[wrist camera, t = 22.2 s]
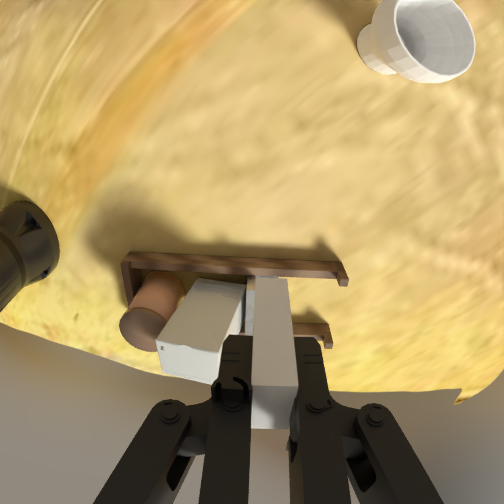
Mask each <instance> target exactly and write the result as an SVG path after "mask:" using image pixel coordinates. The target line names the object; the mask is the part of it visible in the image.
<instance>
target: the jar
mask: <svg viewBox="0 0 504 504" xmlns="http://www.w3.org/2000/svg"><path fill="white" fill-rule="evenodd" d="M183 295H184V289H183V286H182V283H181V282H180V281H179V279H178V278H177V277H175V276H174V275H173V274H171V273H168V272H165V271H155V272H152V273H150V274H149V275H147V277H146V278H145V280H144V281H143V283H142V285H141V287H140V288H139V290H138V292H137V294H136V295H135V297H134V299H133V301H132V303H131V304H130V306H129V308H128V310H127V311H126V312H125V313H124V314H123V316H122V318H121V320H120V323H119V328H120V332H121V334H122V336H123V337H124V338H125V340H126V341H127V342H128V343H129V344H131V345H132V346H134V347H135V348H138V349H140V350H143V351H147V352H156V351H158V350H157V345H156V341H155V339H156V338H157V337H158V335H159V334H160V333H161V331H162V330H163V328H164V327H165V325H166V324H167V322H168V321H169V319H170V318H171V316H172V315H173V313H174V312H175V311H176V309H177V308H178V306H179V305H180V303H181V301H182V298H183Z"/></svg>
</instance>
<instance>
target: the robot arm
mask: <svg viewBox="0 0 504 504" xmlns="http://www.w3.org/2000/svg"><path fill="white" fill-rule="evenodd" d="M59 253H60V250H59V242H58V238H57V234H56V232H55V229H54V227H53V225H52V223H51V222H50V220H49V219H48V217H47V216H46V215H45V214H44V212H43V211H42V210H41V209H39V208H38V207H37V206H35V205H34V204H32V203H30V202H27V201H16V202H13V203H12V204H10V205H8V206H7V207H5V208H4V209H3V210H2V211H1V212H0V312H1V311H2V310H3V309H4V308H5V307H6V305H7V304H8V303H9V302H10V301H11V300H12V299H13V298H14V297H15V296H16V294H17V293H18V292H19V291H20V290H21V289H22V288H23V287H25V286H28V285H30V284H33V283H35V282H38V281H40V280H43V279H44V278H46V277H47V276H48V275H49V274H50V273H51V272H52V271H53V270H54V269H55V267H56V266H57V263H58V260H59ZM211 394H212V397H211V398H210V399H209V400H207V401H205V402H203V403H199V404H195V405H188V406H186V405H185V404H184V403H182V402H180V401H178V400H172V399H169V400H163V401H161V402H159V403H157V404H156V405H155V406H154V407H153V408H152V410H151V411H150V413H149V414H148V416H147V418H146V419H145V421H144V422H143V424H142V426H141V427H140V429H139V430H138V432H137V434H136V435H135V437H134V438H133V440H132V442H131V443H130V445H129V447H128V448H127V450H126V451H125V453H124V455H123V456H122V458H121V459H120V461H119V463H118V464H117V466H116V467H115V469H114V471H113V472H112V474H111V475H110V477H109V479H108V480H107V482H106V483H105V485H104V487H103V488H102V490H101V491H100V493H99V495H98V496H97V498H96V499H95V501H94V503H93V504H173V502H174V500H175V498H176V496H177V494H178V492H179V490H180V488H181V485H182V483H183V482H184V479H185V477H186V475H187V473H188V471H189V469H190V467H191V465H192V463H193V460H194V458H195V456H196V455H202V454H205V458H204V465H203V472H202V480H201V488H200V495H199V503H198V504H248V494H249V468H250V442H251V428H262V429H263V428H264V429H288V427H289V425H290V436H289V439H288V442H287V446H286V450H289V476H290V477H289V478H290V504H351V498H350V491H349V484H348V478H349V480H350V482H351V485H352V487H353V489H354V491H355V494H356V496H357V498H358V500H359V502H360V504H444V503H443V501H442V500H441V498H440V496H439V494H438V492H437V490H436V489H435V487H434V485H433V483H432V482H431V480H430V478H429V476H428V475H427V473H426V471H425V469H424V468H423V466H422V464H421V462H420V461H419V459H418V457H417V455H416V454H415V453H414V450H413V449H412V447H411V445H410V443H409V442H408V440H407V438H406V437H405V435H404V433H403V432H402V430H401V428H400V427H399V425H398V423H397V422H396V420H395V418H394V417H393V415H392V413H391V412H390V411H389V410H388V409H387V408H386V407H384V406H382V405H380V404H376V403H372V404H367V405H365V406H363V407H362V408H361V409H360V410H359V409H354V408H350V407H346V406H342V405H341V404H339V403H337V402H336V401H335V400H334V399H333V398H332V397H331V396H330V393H329V390H328V384H327V378H326V373H325V367H324V364H323V357H322V352H321V346H320V344H319V343H318V342H317V340H316V339H315V338H314V337H296V336H293V327H292V318H291V309H290V300H289V292H288V283H287V279H280V278H259V277H256V281H255V299H254V317H253V336H249V335H232V334H229V335H228V336H227V338H226V339H225V340H224V342H223V345H222V352H221V359H220V365H219V372H218V378H217V379H216V380H215V381H213V384H212V386H211Z"/></svg>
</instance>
